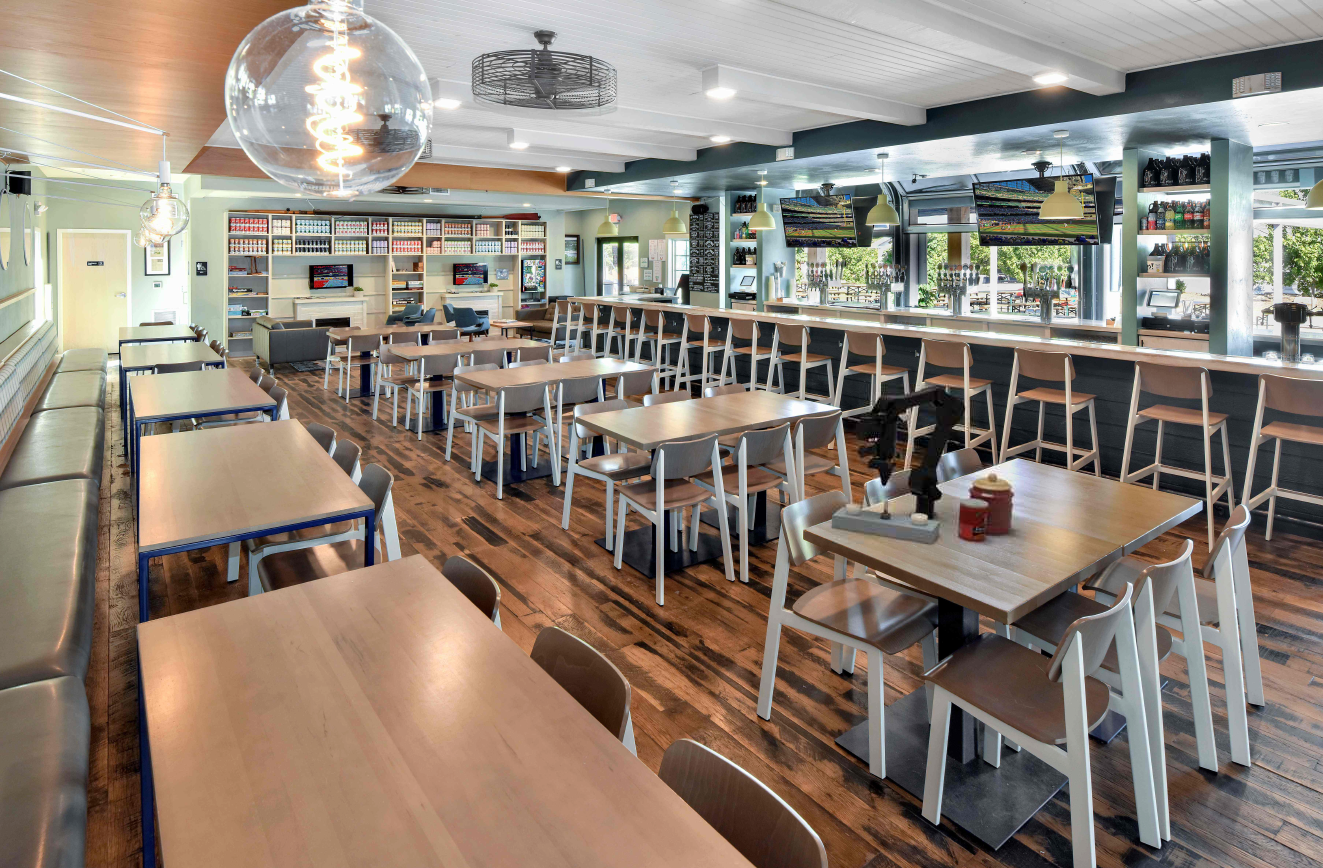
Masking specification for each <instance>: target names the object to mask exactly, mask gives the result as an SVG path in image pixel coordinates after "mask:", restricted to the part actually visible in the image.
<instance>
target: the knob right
mask: <svg viewBox="0 0 1323 868" xmlns="http://www.w3.org/2000/svg"><path fill="white" fill-rule="evenodd" d="M913 513H914V512H913ZM913 513H912V514H911V515H910V517H911V524H914V525H918V526H924V525H927V520H928V518H927V517H928V516H927V515H925V514H921V513H914V514H913Z"/></svg>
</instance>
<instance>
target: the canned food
mask: <svg viewBox="0 0 1323 868" xmlns="http://www.w3.org/2000/svg"><path fill="white" fill-rule="evenodd" d="M958 514H959V515H958V527H957V528H958V529H957V535H958V537H959V539H962V540H964V541H968V542H974V543H975V542H984V541H985V539H986V538H987V534H986V529H987V518H988V503H987V502H985V501H983V500H979V499H969V498H962V499H960V504H959V513H958Z"/></svg>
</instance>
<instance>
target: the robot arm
mask: <svg viewBox="0 0 1323 868" xmlns="http://www.w3.org/2000/svg"><path fill="white" fill-rule="evenodd" d="M929 403H931V405H932V406H933V407H934V408H935V411H934V415H935V422H936V423H935V426H934V429H933V431H932V434H931V436H930V440H929V442H928V445H927V447H926V449H925V453H924V454H923V455H924V456H923V458H922V460H921V463H920V465H918V466H917V467H912V468H911V470H910V474H909V475H908V477H907V480H908V481H907V486H908V488H909V490H910V495H911V496H914V497H915V496H916V499H915V511H914V512H913V513H912V514H914V513H921V514H925V515H927V516H928V517H927V520H933V519H935V517H936V516H937V515H938V513H937V512H935V503H936V502H937V501H939V500H941V499H942V495H943V493H942V491H941V490H940V489H939V488H938V487H937V484H938V474H937V468H938V467H939V463H940V461H941V457H942V456H943V453H944V450H945V447H946V445H947V442H948V439H949V438H950V434H951V431H952V429H953V428H954V427H955V426H956V425H957V424H958V423H960V421H961V420H962V418H963V416H964V414H965V412H966V406H965V403H964V402H963V401H962V400H960V399H959V400H958V399H957V398H956V397H955V396H953V395H951V394H950V393H949V392H947V391H946V390H945V389H943V388H941V387H937V386H929V387H927V388H923V389H921V390H916V391H913V392H910V393H906V394H901V395H892V394H891V395H880V396H879V397H877V399H876V402H875V404H874V406H873V407H872V409H871V411H870V412H869V414H868V415H867V417H865V416H863V417H861V416H860V418H859V421H858V422H857V423H856V424H855V427H854V434H855V436H856V438H857V439H858V440H860V441H864V440H871V439H873V440H874V439H876V440H874V441H873V443H870V444H861V445H859V447H858V448H857V453H856V454H857V455H859V459H864V458H866V457H870V456H872V458H871V459H869V460H868V461H867V468H868V469H870V470H871V469H872V470H877V471H878V474H879V479H880V483H881V486H883V487H886V486H887V484H888V483H889V481H890V479H891V476H892V474H894V472H895V469H896V467H897V466H898V462H894V460H893V459H898V461H902V459H903V457H904V456H903V455H904V454H903V452H902V450H901V449H898V448H897V444H898V442H899V440H898V439H897V434H898V433H897V432H898V423H903V422H904V420H903V418H901V416H900V415H901V414H904V413H905V412H906V411H907V410H908V409H911V408H915V407H917V406H922V405H925V404H929ZM896 448H897V449H896Z"/></svg>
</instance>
